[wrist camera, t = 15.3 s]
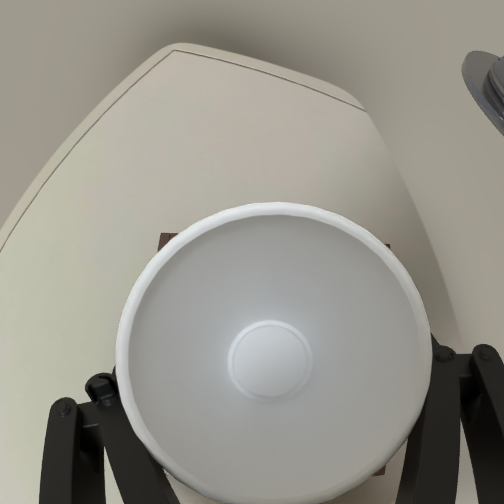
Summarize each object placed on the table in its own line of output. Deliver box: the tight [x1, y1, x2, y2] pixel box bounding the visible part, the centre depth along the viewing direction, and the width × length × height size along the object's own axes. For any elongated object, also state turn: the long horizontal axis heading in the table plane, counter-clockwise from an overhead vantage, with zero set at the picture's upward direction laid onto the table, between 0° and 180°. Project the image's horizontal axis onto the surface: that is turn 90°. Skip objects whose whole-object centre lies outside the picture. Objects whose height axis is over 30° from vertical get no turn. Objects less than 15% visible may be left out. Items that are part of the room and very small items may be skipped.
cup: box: [116, 202, 432, 504], centre depth 14 cm, size 10×10×11 cm
